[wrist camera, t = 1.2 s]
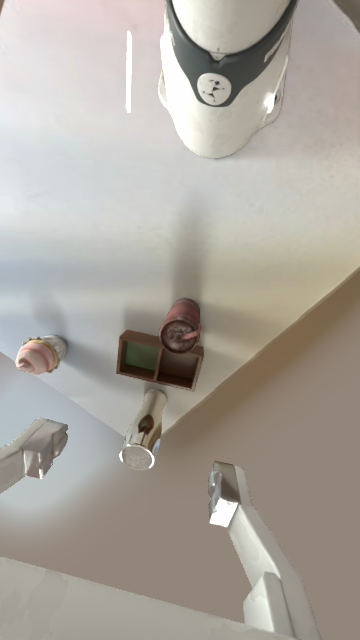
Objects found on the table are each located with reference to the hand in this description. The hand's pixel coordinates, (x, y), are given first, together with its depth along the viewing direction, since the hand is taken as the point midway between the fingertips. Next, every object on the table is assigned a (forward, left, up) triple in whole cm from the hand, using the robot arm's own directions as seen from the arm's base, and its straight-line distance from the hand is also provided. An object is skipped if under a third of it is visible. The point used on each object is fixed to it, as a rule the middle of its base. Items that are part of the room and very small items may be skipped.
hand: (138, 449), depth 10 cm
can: (+1, +1, -31) cm, 31 cm away
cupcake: (+17, -29, -31) cm, 46 cm away
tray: (+13, -3, -31) cm, 33 cm away
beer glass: (+26, -2, -31) cm, 40 cm away
